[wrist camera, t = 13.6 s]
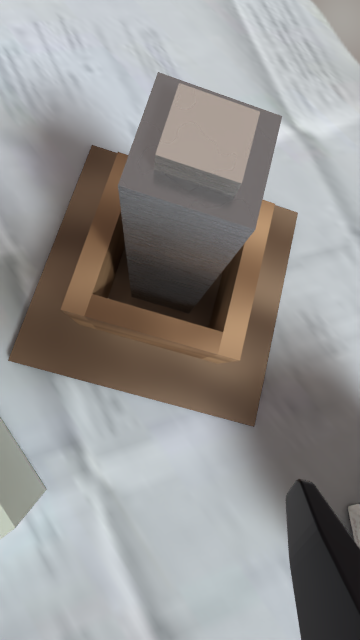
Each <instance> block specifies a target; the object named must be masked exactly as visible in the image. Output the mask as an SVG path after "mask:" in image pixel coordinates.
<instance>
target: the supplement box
mask: <svg viewBox="0 0 360 640" xmlns="http://www.w3.org/2000/svg"><path fill="white" fill-rule="evenodd" d="M348 512H349V517H350V521H351V526H352V531H353V537H354V541H355V543H356V544H357V546H358V547H359V548H360V504H355V505H351V506H348Z"/></svg>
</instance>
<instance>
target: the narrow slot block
mask: <svg viewBox="0 0 360 640" xmlns="http://www.w3.org/2000/svg"><path fill="white" fill-rule="evenodd" d="M46 490H47V489H46V488H45V486H44V485H43V483H42V482H41V480H40V478H39V477H38V475H37V474H36V472H35V471H34V469H33V468H32V466H31V464H30V463H29V461H28V460H27V458H26V457H25V455H24V454H23V452H22V450H21V449H20V447H19V446H18V444H17V443H16V441H15V440H14V438H13V437H12V435H11V433H10V432H9V430H8V429H7V427H6V426H5V424H4V423H3V421H2V419H1V418H0V539H1V538H3V537H4V536H5V535H7V534H8V533H9V532H11V531H12V530H13V529H15V528H16V526H17V525H18V524H19V523H20V522H21V520H22V519H23V518H24V517H25V515H26V514H27V513H28V512H29V511H30V509H31V508H32V507H33V506H34V504H35V503H36V502H37V501H38V500H39V498H40V497H41V496H42V495H43V493H44V492H45V491H46Z"/></svg>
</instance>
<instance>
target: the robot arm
mask: <svg viewBox="0 0 360 640" xmlns="http://www.w3.org/2000/svg"><path fill="white" fill-rule="evenodd" d="M286 514H287V531H288V548H289V561H290V568H291V575H292V582H293V588H294V595H295V602H296V608H297V615H298V621H299V628H300V634H301V640H360V548H359V547H358V546H357V544H356V543H355V541H354V540H353V538H352V537H351V536H350V534H349V533H348V531H347V530H346V529H345V527H344V526H343V524H342V523H341V522H340V520H339V519H338V517H337V516H336V514H335V513H334V512H333V510H332V509H331V507H330V506H329V505H328V503H327V502H326V500H325V499H324V497H323V496H322V495H321V493H320V492H319V490H318V489H317V488H316V486H315V485H314V484H313V483H312V482H310V481H306V480H302V479H298V480H296V482H295V483H294V485H293V486H292V487H291V489H290V490H289V492H288V493H287V496H286Z"/></svg>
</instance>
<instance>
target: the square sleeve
mask: <svg viewBox="0 0 360 640" xmlns="http://www.w3.org/2000/svg"><path fill="white" fill-rule="evenodd" d="M127 158H128V155H126V154H123V153H120V152H118V153H115V152H112V151H109V150H106V149H103V148H100V147H97V146H94V145H92V146H91V149H90V151H89V154H88V156H87V159H86V162H85V164H84V167H83V169H82V172H81V174H80V177H79V180H78V182H77V185H76V187H75V190H74V192H73V195H72V198H71V200H70V203H69V205H68V208H67V210H66V213H65V216H64V218H63V221H62V223H61V226H60V228H59V231H58V234H57V236H56V239H55V241H54V244H53V246H52V249H51V252H50V254H49V257H48V259H47V262H46V264H45V267H44V270H43V272H42V275H41V277H40V280H39V282H38V285H37V287H36V290H35V293H34V295H33V298H32V300H31V303H30V305H29V308H28V311H27V313H26V316H25V318H24V321H23V323H22V326H21V329H20V331H19V334H18V336H17V339H16V341H15V344H14V347H13V349H12V352H11V354H10V357H9V359H8V361H12V362H15V363H19V364H23V365H27V366H30V367H34V368H38V369H41V370H45V371H49V372H53V373H56V374H60V375H64V376H67V377H71V378H75V379H79V380H82V381H86V382H90V383H94V384H97V385H101V386H105V387H108V388H112V389H116V390H120V391H123V392H127V393H131V394H134V395H138V396H142V397H146V398H149V399H153V400H157V401H160V402H164V403H168V404H172V405H175V406H179V407H183V408H187V409H190V410H194V411H198V412H201V413H205V414H209V415H213V416H216V417H220V418H224V419H227V420H231V421H235V422H239V423H242V424H246V425H250V426H253V427H254V425H255V420H256V415H257V411H258V406H259V401H260V396H261V391H262V386H263V381H264V376H265V371H266V366H267V362H268V357H269V352H270V347H271V342H272V337H273V332H274V327H275V322H276V317H277V313H278V308H279V303H280V298H281V293H282V288H283V283H284V278H285V273H286V268H287V264H288V259H289V254H290V249H291V244H292V239H293V234H294V229H295V224H296V219H297V215H298V213H297V212H294V211H291V210H288V209H285V208H282V207H279V206H276V205H275V204H274V203H271V202H268V201H265V200H262V204H261V208H260V212H259V216H258V220H257V225H256V229H255V231H254V232H253V233H252V235H251V236H250V237H249V238H248V240H247V241H246V242H245V243H244V245H243V246H242V247H241V248H240V250H239V251H238V252H237V253H236V255H235V256H234V257H233V259H232V260H231V261H230V262H229V264H228V265H227V266H226V267H225V269H224V270H223V271H222V272H221V274H220V275H219V276H218V277H217V279H216V280H215V281H214V283H213V284H212V285H211V286H210V288H209V289H208V290H207V291H206V293H205V294H204V295H203V296H202V298H201V299H200V300H199V301H198V303H197V304H196V305H195V307H194V308H193V309H192V310H191V312H190V313H189V314H188V313H185V312H181V311H178V310H174V309H171V308H168V307H164V306H161V305H157V304H154V303H151V302H147V301H144V300H140V299H137V298H134V297H131V289H130V280H129V272H128V264H127V256H126V248H125V240H124V232H123V223H122V215H121V207H120V199H119V191H118V183H119V181H120V178H121V175H122V172H123V169H124V167H125V164H126V161H127Z"/></svg>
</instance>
